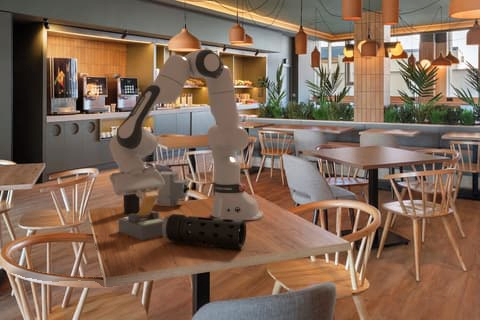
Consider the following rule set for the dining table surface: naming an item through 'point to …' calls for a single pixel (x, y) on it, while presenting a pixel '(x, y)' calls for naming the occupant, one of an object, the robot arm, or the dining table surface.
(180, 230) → the muzzle brake
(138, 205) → the bottle
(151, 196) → the lever
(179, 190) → the circuit breaker
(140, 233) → the panel
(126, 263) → the dining table surface
